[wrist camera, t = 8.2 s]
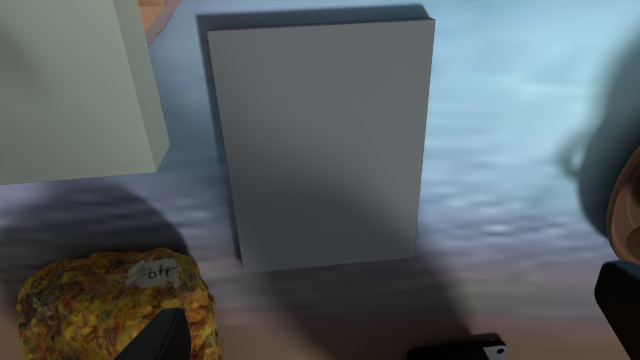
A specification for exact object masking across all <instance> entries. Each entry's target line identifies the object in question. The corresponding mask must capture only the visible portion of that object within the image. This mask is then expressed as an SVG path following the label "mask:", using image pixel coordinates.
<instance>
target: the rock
mask: <svg viewBox="0 0 640 360" xmlns="http://www.w3.org/2000/svg"><path fill="white" fill-rule="evenodd" d="M174 307H181V308H183V310H184V312H185V315H186V319H187V323H188V326H189V330H190V334H191V340H192V347H191V357H190V360H222V356H221V350H222V349H221V346H220V343H219V337H218V329H217V324H216V319H215V301H214V297H213V295H211V294H210V293H208V289H207V286H206V283H205V282H204V281H203V280H202V279H201V277H200V271H199V267H198V265H197V263H196V261H195V260H194V259H192V258H191V257H189V256H186V255H182V254H179V253H175V252H173V251H171V250H169V249H167V248H166V247H158V248H155V249H153V250H150V251H146V252H142V253H140V252H136V251H134V252H131V251H128V252H121V253H117V252H102V253H94V254H92V255H91V256H90V257H89V258H87V259H85V258H84V259H63V258H62V259H60V260H58V261H55V262H53V263H52V264H50V265H48V266H47V267H45V268H43V269H41V270H40V271H38V272H37V273H35V274H34V275H32V276H30V277H29V278H28V279H27V280H26V281H25V282H24V283H23V285H22V287H21V289H20V291H19V293H18V300H17V305H16V310H17V315H18V317H17V318H16V328H17V331H18V334H19V337H20V340H21V343H22V354H23V356H24V358H25V359H26V360H113V359H114V358H115V357H116V356H117V355H118V354H119V353H120V352H121V351H122V350H123V349H124V348H125V347H126V346H127V345H128V344H129V342H130V341H131V340H132V339H133V338H134V337H135V336H136V335H137V334H138V333H139V332H140V331H141V330H142V329H143V328H144V327H145V326H146V325H147V324H148V323H149V322H150V321H151V319H152V318H153V317H154V316H155V315H156V314H157V313H158V312H159V311H160V310H162V309H165V308H174Z"/></svg>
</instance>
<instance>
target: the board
mask: <svg viewBox="0 0 640 360" xmlns="http://www.w3.org/2000/svg"><path fill="white" fill-rule="evenodd" d="M169 147H170V142H169V137H168V133H167V128H166V124H165V120H164V115H163V111H162V106H161V102H160V98H159V93H158V89H157V84H156V80H155V75H154V71H153V67H152V62H151V58H150V53H149V49H148V45H147V40H146V36H145V31H144V27H143V22H142V18H141V14H140V9H139V5H138V0H0V185H7V184H19V183H32V182H44V181H57V180H69V179H81V178H94V177H106V176H119V175H131V174H144V173H156V172H157V170H158V168H159V166H160V164H161V162H162V160H163V158H164V156H165V154H166V153H167V151H168V149H169Z"/></svg>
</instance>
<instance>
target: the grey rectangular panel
mask: <svg viewBox="0 0 640 360" xmlns="http://www.w3.org/2000/svg"><path fill="white" fill-rule="evenodd" d="M434 31H435V19H433V18H414V19H395V20H375V21H355V22H336V23H316V24H297V25H277V26H257V27H238V28H218V29H208V31H207V36H208V43H209V49H210V56H211V62H212V69H213V75H214V82H215V88H216V95H217V101H218V108H219V114H220V121H221V127H222V134H223V140H224V147H225V153H226V160H227V166H228V173H229V179H230V186H231V192H232V199H233V205H234V212H235V218H236V225H237V231H238V238H239V244H240V251H241V257H242V264H243V270H244V274H245V273H256V272H266V271H277V270H288V269H298V268H309V267H320V266H331V265H341V264H352V263H363V262H373V261H384V260H395V259H405V258H414V251H415V240H416V229H417V218H418V207H419V196H420V185H421V174H422V163H423V152H424V141H425V130H426V119H427V108H428V97H429V86H430V75H431V64H432V53H433V42H434Z"/></svg>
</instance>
